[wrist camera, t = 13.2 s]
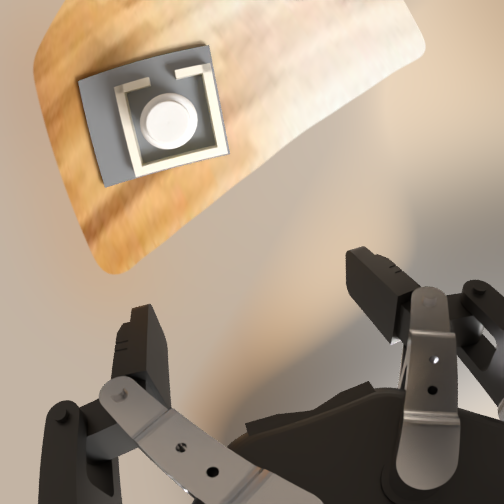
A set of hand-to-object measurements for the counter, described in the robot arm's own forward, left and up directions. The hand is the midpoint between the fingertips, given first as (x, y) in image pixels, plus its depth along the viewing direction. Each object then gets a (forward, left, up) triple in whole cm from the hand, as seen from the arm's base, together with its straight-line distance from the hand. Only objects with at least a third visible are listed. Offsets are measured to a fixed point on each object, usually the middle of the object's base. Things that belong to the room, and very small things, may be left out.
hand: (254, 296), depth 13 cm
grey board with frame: (+4, -7, -30) cm, 31 cm away
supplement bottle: (+2, -6, -29) cm, 30 cm away
